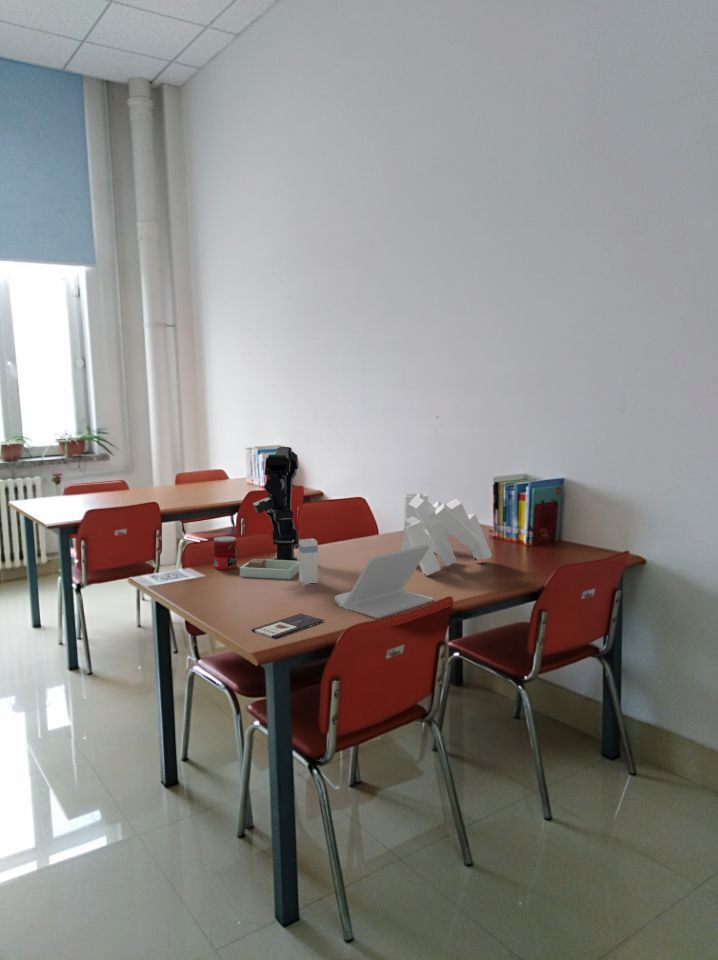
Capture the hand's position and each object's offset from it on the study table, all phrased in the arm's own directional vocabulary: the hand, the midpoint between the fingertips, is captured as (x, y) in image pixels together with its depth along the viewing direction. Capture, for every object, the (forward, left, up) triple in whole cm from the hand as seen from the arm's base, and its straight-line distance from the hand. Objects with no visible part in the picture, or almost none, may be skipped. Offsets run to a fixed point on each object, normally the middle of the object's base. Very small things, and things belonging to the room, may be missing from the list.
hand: (278, 534), depth 248 cm
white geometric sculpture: (-35, +47, -13) cm, 60 cm away
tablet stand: (+14, +50, -13) cm, 54 cm away
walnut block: (+7, -4, -12) cm, 15 cm away
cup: (-60, +23, -13) cm, 66 cm away
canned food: (+7, -18, -13) cm, 24 cm away
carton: (+7, +18, -13) cm, 23 cm away
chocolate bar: (+47, +40, -14) cm, 63 cm away
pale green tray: (+5, +1, -13) cm, 14 cm away
